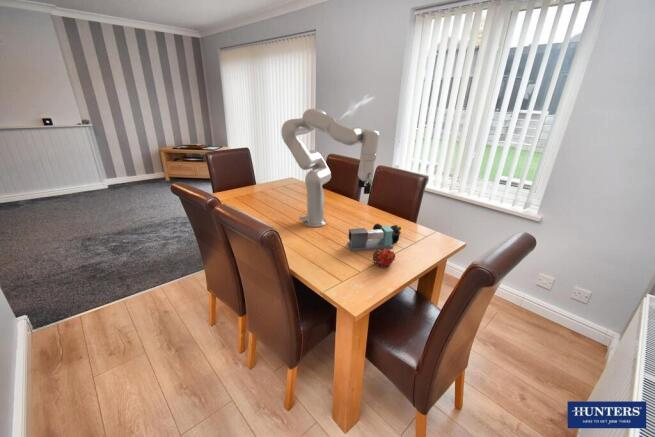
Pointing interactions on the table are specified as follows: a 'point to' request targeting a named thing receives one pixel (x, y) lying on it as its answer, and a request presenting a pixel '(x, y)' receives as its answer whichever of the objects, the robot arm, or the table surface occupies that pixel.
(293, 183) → the table surface
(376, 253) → the dragon fruit
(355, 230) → the outer sleeve
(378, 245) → the base board
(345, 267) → the table surface
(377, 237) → the inner tube
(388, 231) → the socket block
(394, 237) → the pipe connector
